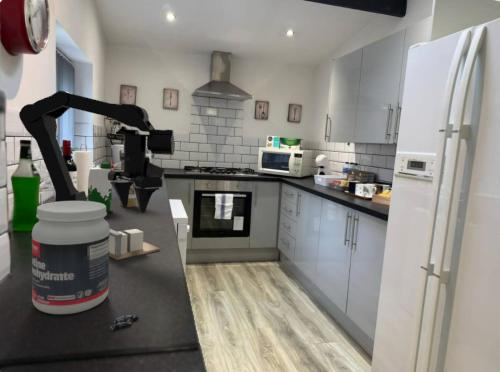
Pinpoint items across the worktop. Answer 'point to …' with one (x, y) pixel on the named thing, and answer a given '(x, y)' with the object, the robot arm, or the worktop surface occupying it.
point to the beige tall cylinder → (130, 190)
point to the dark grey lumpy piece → (123, 322)
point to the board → (146, 249)
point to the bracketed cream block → (117, 243)
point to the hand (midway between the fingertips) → (133, 209)
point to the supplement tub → (70, 256)
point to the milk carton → (100, 185)
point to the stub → (134, 239)
